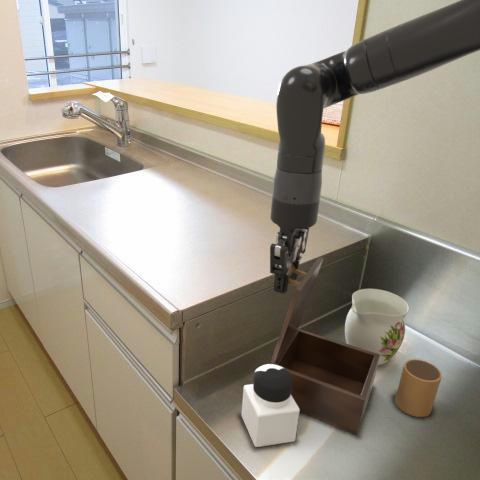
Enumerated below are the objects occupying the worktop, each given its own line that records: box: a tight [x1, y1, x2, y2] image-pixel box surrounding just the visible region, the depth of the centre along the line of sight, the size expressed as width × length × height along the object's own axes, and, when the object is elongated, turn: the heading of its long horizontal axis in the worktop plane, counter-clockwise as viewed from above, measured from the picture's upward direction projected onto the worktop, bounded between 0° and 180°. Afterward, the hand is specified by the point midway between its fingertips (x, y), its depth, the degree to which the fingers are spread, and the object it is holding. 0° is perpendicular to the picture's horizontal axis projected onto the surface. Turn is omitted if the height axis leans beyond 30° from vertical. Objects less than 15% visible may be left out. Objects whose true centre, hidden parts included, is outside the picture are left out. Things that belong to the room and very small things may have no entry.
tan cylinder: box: [394, 358, 443, 418], centre depth 80 cm, size 6×6×8 cm
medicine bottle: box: [241, 363, 301, 448], centre depth 75 cm, size 7×7×12 cm
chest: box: [274, 327, 380, 436], centre depth 83 cm, size 16×14×8 cm
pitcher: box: [344, 288, 410, 366], centre depth 92 cm, size 11×18×14 cm, turn 122°
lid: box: [269, 256, 324, 364], centre depth 82 cm, size 16×14×5 cm
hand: (285, 284), depth 81 cm, fingers closed on lid, 5 cm apart
